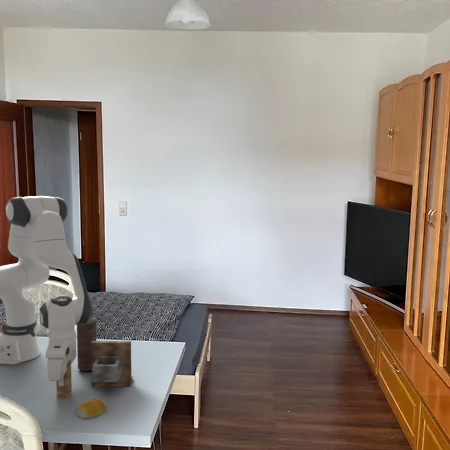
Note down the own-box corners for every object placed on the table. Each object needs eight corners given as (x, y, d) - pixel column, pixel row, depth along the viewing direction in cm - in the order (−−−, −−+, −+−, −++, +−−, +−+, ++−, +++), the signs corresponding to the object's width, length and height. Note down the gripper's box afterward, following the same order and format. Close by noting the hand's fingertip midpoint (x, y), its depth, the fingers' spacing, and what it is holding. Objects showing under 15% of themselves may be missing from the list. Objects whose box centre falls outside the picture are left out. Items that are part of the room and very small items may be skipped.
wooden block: (56, 396, 167) (55, 363, 166) (60, 391, 171) (59, 358, 170) (68, 396, 168) (67, 363, 166) (71, 391, 172) (70, 359, 170)
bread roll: (110, 410, 160) (110, 399, 159) (88, 422, 152) (88, 410, 152) (94, 402, 164) (93, 391, 164) (71, 413, 157) (71, 402, 157)
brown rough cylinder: (91, 374, 185) (90, 324, 182) (73, 372, 186) (72, 322, 184) (100, 366, 192) (99, 317, 190) (83, 364, 194) (82, 316, 191)
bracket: (85, 398, 167) (84, 353, 164) (95, 379, 181) (94, 337, 179) (126, 398, 167) (125, 353, 165) (132, 379, 182) (132, 337, 179)
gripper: (62, 332, 177) (63, 368, 179) (43, 355, 157) (45, 395, 159) (80, 332, 177) (81, 368, 179) (63, 355, 157) (64, 395, 159)
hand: (63, 381), depth 169 cm, fingers closed on wooden block, 4 cm apart
